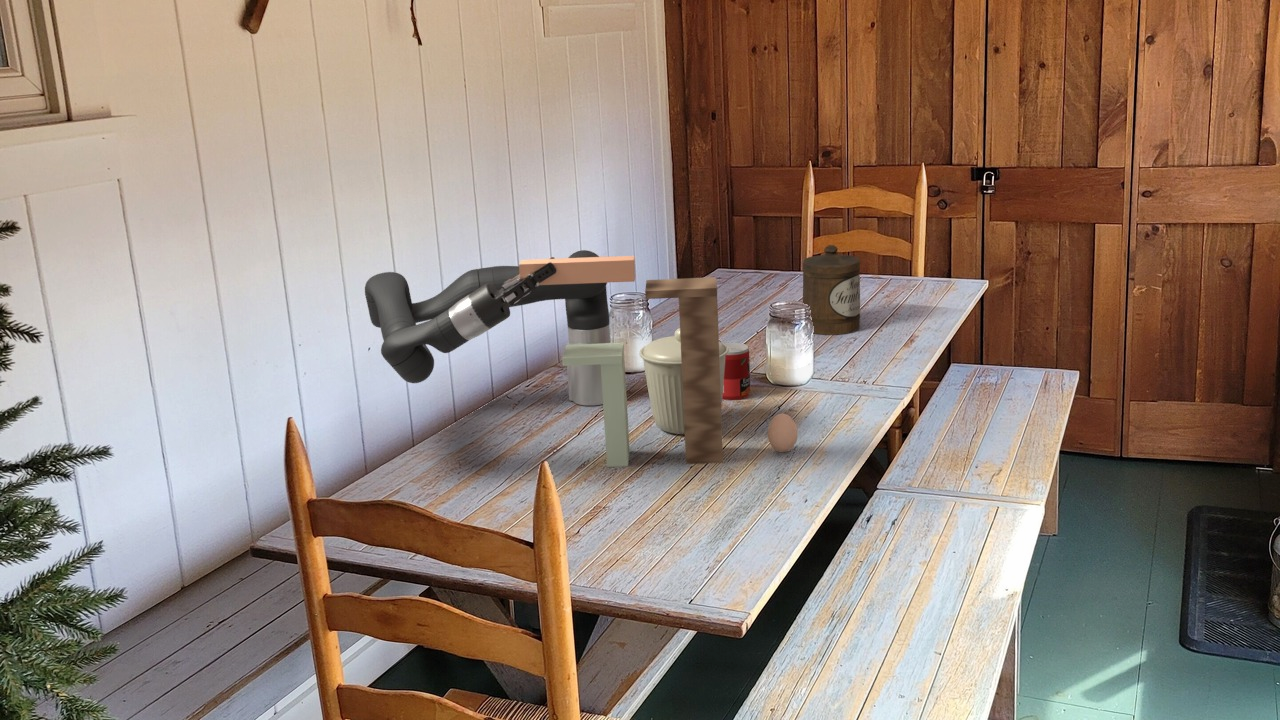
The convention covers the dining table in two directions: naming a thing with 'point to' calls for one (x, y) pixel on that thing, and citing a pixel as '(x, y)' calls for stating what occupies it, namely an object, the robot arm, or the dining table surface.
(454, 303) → the robot arm
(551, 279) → the peach rectangular bar
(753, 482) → the dining table surface
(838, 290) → the wooden container
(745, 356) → the canned food
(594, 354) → the sage ledge
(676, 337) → the canister
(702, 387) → the walnut stand
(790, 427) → the egg
